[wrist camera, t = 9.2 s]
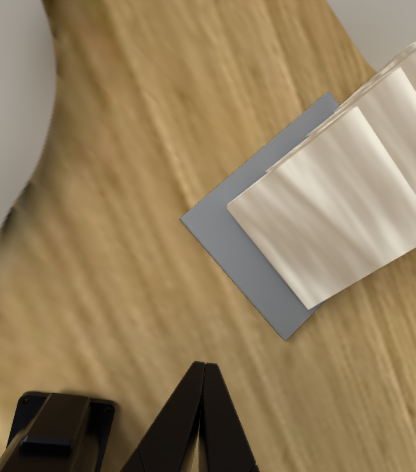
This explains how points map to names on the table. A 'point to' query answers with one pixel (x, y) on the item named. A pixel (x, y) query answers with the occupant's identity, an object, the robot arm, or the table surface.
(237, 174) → the board
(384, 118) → the domino
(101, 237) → the table surface
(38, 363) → the table surface
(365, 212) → the domino
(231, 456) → the robot arm
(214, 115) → the table surface
